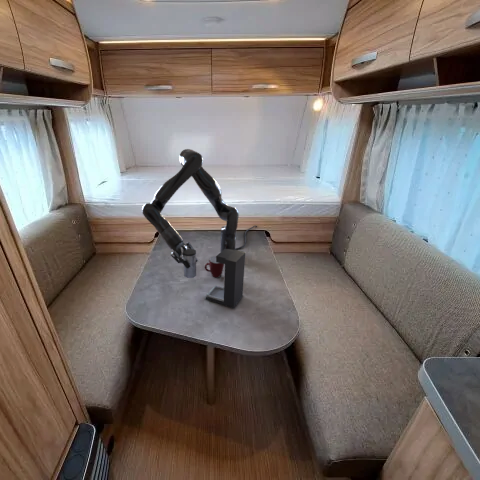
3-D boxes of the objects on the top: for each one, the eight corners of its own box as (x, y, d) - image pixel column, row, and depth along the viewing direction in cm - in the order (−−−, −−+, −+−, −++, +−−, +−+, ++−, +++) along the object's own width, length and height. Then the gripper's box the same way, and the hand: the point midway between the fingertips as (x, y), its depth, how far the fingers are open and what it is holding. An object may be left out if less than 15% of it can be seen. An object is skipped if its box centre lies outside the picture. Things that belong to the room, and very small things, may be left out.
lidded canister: (186, 270, 136) (185, 248, 130) (198, 272, 134) (197, 249, 129) (182, 277, 130) (181, 253, 125) (194, 278, 129) (193, 255, 123)
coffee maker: (205, 299, 128) (205, 254, 118) (216, 287, 137) (216, 245, 127) (233, 308, 121) (235, 262, 112) (242, 296, 130) (245, 252, 121)
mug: (204, 279, 144) (204, 263, 140) (204, 271, 151) (204, 256, 147) (223, 279, 144) (224, 263, 140) (223, 272, 151) (223, 256, 147)
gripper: (166, 238, 121) (189, 267, 121) (184, 228, 133) (205, 255, 132) (158, 246, 126) (180, 274, 125) (175, 236, 137) (196, 261, 137)
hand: (192, 264), depth 129 cm, fingers closed on lidded canister, 6 cm apart
